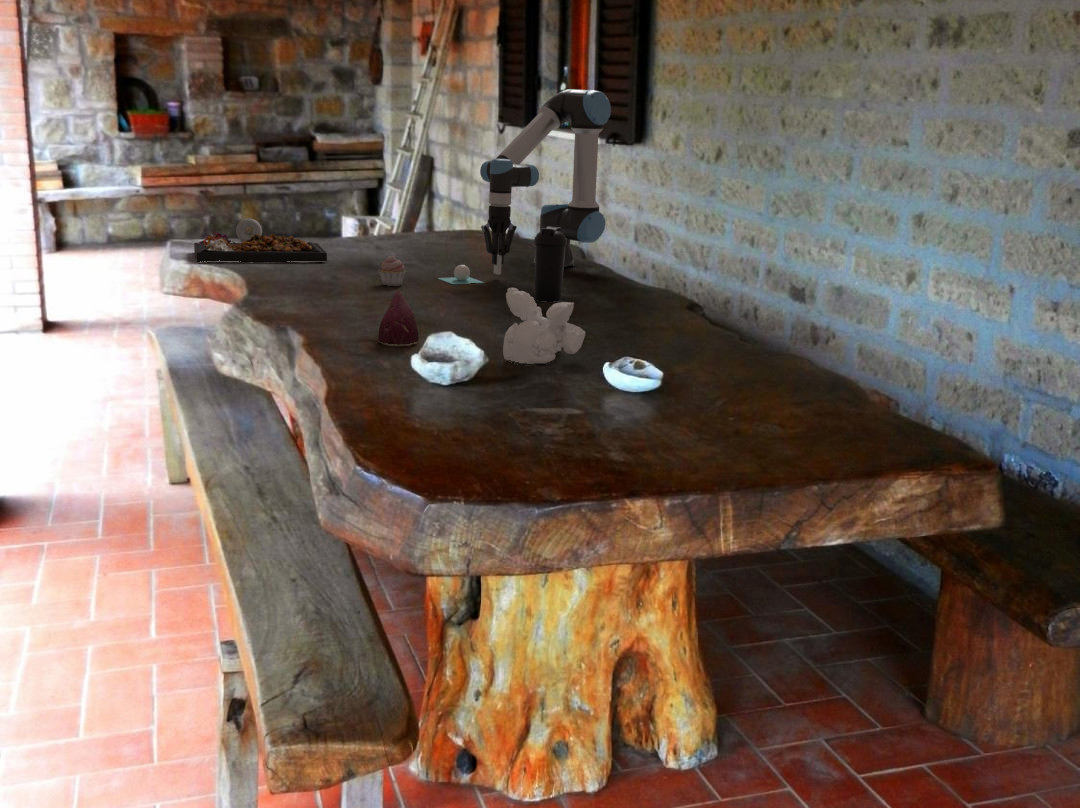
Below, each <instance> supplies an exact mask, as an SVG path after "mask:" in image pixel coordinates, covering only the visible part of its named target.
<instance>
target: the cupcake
mask: <svg viewBox="0 0 1080 808" xmlns="http://www.w3.org/2000/svg"><path fill="white" fill-rule="evenodd" d="M406 273H407V270H405V265H404V264H403V262H402V261H401V260H400V259H397V258H396V257H395V255H394V254H392V255H389V256H388V257H387V258H385V260H384V261H383V262H382V263H381V264H380V269H378V274H379V276H380V279H381V284H382V285H383V284H384V285H389V286H397V287H401V286H402V285H403V281H404V277H405V276H406ZM384 285H383V286H384ZM400 285H401V286H400ZM389 286H388V287H389Z"/></svg>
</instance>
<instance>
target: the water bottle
mask: <svg viewBox="0 0 1080 808" xmlns="http://www.w3.org/2000/svg"><path fill="white" fill-rule="evenodd" d="M558 229H561V228H560V227H547V228H542V231H541V232H540V231H539V232H537V233H536V235H535V236H534V239H533V240H534V242H533V243H534V245H535V246H534V247H535V248H534V249H535V250H534V251H535V252H534V257H535V264H534V297H533V298H534V299H535V300H538V301H547V302H553V301H559V300H561V301H562V292H563V284H564V283H563V280H564V269H565V268H564V259H565V247H566V245H567V238H566V237H565V235H564V234H563V233H562V232H560V231H558ZM538 301H537V302H538Z"/></svg>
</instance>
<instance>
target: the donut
mask: <svg viewBox="0 0 1080 808" xmlns="http://www.w3.org/2000/svg"><path fill="white" fill-rule="evenodd" d="M247 228H252V230H253V231H252V232H253V233H252V234H247V233H246V229H247ZM235 234H236V236H237V238H238V240H240V242H241V243H242V242H243V241H246V240H250V239H251V236H254V235H255V234H260V235H262V234H263V228H262V225H261V224H260V223H259V221H257V220H256V219H254V218H244V219H241V220H240V221H239V222H238V223H237V226H236V229H235ZM262 236H263V235H262Z"/></svg>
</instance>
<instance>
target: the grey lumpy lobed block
mask: <svg viewBox="0 0 1080 808" xmlns="http://www.w3.org/2000/svg"><path fill="white" fill-rule="evenodd" d="M505 298H506V304H507V306H508V309H510V312H511V313H512V314H513V315H514V316H515V317H518V318H520V320H521V321H523V322H520V323H519V324H518V323H517V322H514V323H513V324H512V325H511V326H510V327H509V328H508V329H507V330H506V331H505V334H504V338H503V346H502V352H503V353H502V354H503V358H504V360H505V359H506V360H511V361H515V362H519V363H527V364H534V363H546V362H550V361H552V360H553V361H554V360H555V358H556V355H555V353H556V352H558V351H561V352H562V348H563V351H564V353H566V354H569V355H574V354H576V353H577V352H578V351H579V350H580V349H581V347H582V346H583V342H584V339H585V337H586V331H585V330H584V329H583V328H581V327H580V326H578V325H577V326H576V325H575V324H573V323H569V322H568V321H569V320H570V317H571V315H572V313H573V310H574V305H575V302H573V301H572V302H567V301H561V302H557V303H552V305H551V306H549V308H548V309H547V311H546V313H545V314H546V317H544V316H543V313H542V308H541V307H540V306H537V305H538V304H537V303H536V301H535V300H534V297H533V296H531V294H530V293H528V292H527V291H523V290H519V289H518V288H516V287H513V286H512V287H508V288H507V292H506V293H505ZM553 361H552V362H553Z"/></svg>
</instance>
